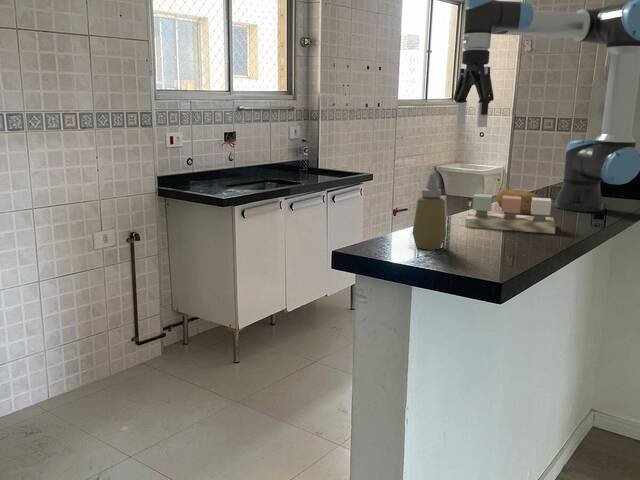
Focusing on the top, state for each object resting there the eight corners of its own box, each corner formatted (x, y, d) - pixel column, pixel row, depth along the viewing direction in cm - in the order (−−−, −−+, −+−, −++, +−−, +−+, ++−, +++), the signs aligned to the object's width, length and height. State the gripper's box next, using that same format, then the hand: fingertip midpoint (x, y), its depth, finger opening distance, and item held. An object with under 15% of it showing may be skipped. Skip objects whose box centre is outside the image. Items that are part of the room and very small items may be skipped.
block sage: (490, 215, 177) (492, 194, 176) (489, 218, 173) (491, 197, 171) (473, 214, 179) (474, 193, 177) (471, 217, 174) (473, 196, 173)
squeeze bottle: (423, 253, 141) (427, 176, 137) (405, 245, 149) (408, 172, 144) (451, 250, 144) (456, 175, 140) (432, 242, 152) (437, 171, 148)
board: (552, 225, 176) (553, 217, 175) (554, 233, 165) (555, 225, 164) (468, 219, 183) (469, 211, 182) (465, 226, 172) (465, 218, 171)
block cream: (548, 219, 173) (550, 198, 171) (549, 223, 168) (551, 201, 167) (530, 218, 174) (532, 197, 173) (530, 221, 169) (532, 200, 168)
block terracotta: (519, 217, 175) (521, 196, 174) (519, 220, 170) (521, 199, 169) (501, 216, 176) (503, 195, 175) (500, 219, 172) (502, 198, 170)
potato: (530, 220, 184) (533, 194, 182) (489, 213, 193) (491, 188, 191) (545, 216, 190) (547, 191, 188) (504, 210, 200) (506, 186, 198)
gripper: (445, 52, 182) (441, 123, 187) (485, 46, 158) (478, 127, 163) (468, 53, 183) (463, 124, 188) (511, 47, 160) (504, 128, 165)
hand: (470, 126), depth 176 cm, fingers open, 13 cm apart
